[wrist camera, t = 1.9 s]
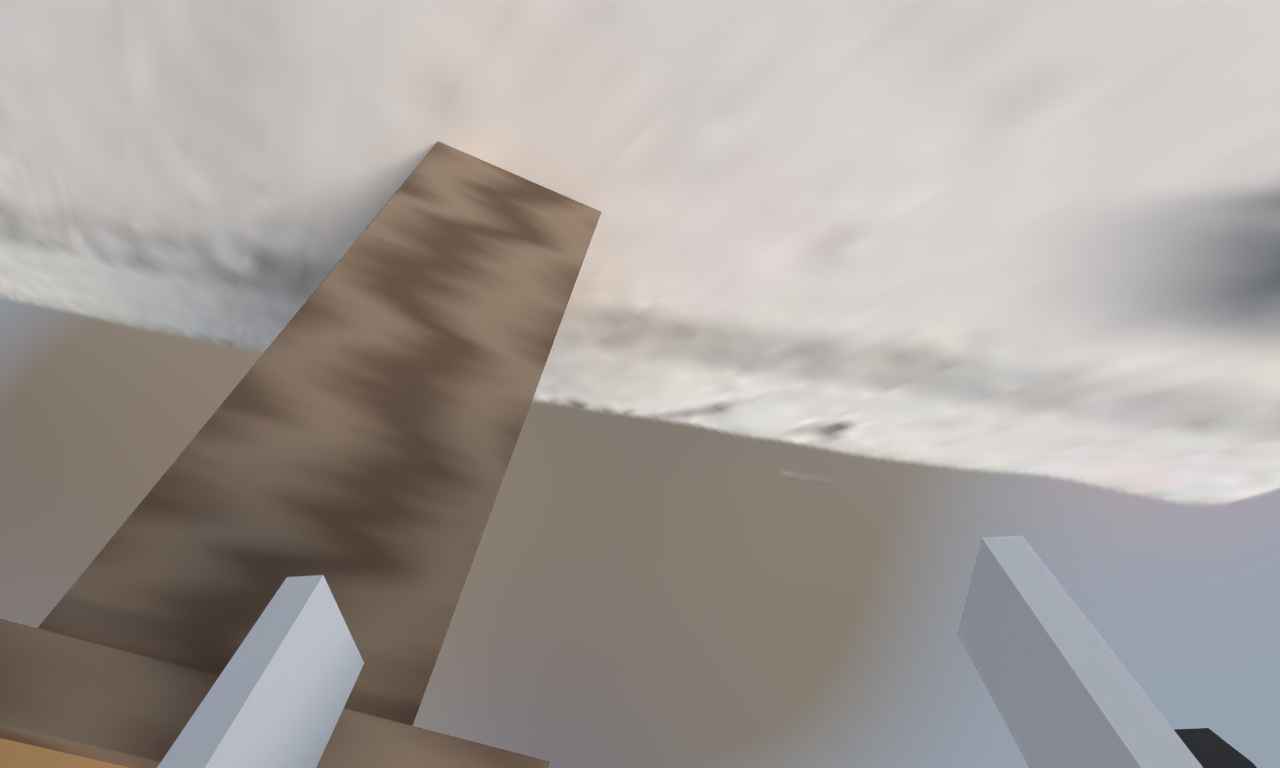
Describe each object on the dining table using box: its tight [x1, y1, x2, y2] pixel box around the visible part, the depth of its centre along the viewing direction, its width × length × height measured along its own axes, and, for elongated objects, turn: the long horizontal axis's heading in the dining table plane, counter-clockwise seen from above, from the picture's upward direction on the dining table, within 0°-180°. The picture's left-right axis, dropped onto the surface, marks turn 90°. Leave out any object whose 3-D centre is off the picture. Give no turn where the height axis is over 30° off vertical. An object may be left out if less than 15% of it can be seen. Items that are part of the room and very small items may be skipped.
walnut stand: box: [0, 142, 601, 768], centre depth 29 cm, size 18×12×30 cm, turn 68°
